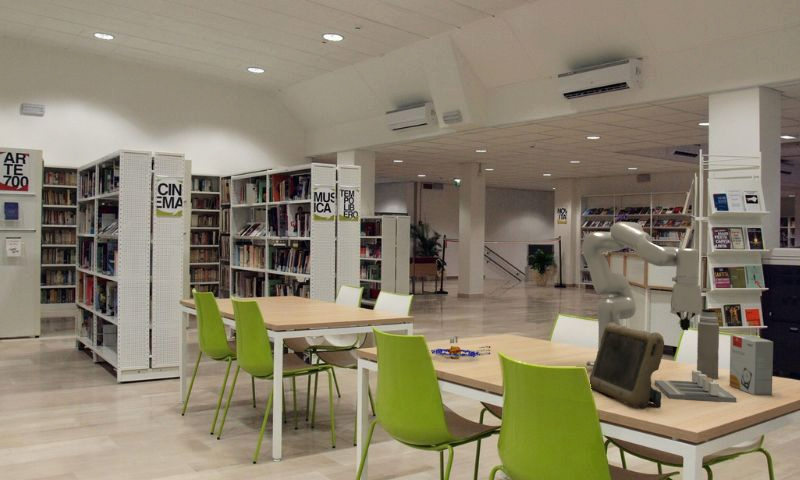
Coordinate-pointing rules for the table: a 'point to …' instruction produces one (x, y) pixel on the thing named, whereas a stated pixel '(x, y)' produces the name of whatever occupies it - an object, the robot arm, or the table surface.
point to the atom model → (458, 351)
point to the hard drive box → (751, 364)
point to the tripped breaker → (706, 383)
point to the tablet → (628, 365)
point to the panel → (691, 391)
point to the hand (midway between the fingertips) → (684, 329)
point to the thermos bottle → (708, 344)
